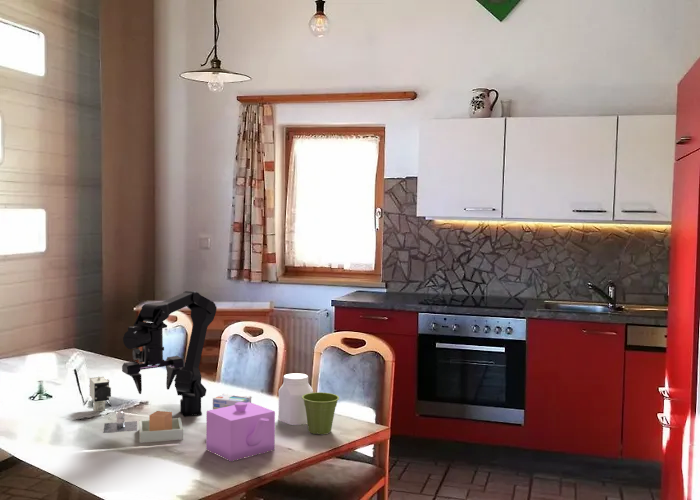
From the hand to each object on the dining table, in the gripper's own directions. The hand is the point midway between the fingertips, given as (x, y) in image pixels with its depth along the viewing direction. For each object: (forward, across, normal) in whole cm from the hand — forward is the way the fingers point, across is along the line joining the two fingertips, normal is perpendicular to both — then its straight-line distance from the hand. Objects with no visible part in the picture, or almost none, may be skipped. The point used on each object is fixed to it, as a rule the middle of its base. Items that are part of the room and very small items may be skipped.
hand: (154, 391), depth 229 cm
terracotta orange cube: (+11, +2, +10) cm, 15 cm away
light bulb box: (+12, -19, +16) cm, 28 cm away
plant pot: (+12, -42, +33) cm, 55 cm away
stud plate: (+12, +10, -4) cm, 16 cm away
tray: (+12, +2, +10) cm, 15 cm away
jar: (+12, -42, +18) cm, 47 cm away
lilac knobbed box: (+12, -13, +36) cm, 40 cm away
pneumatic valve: (+12, +9, -27) cm, 31 cm away
